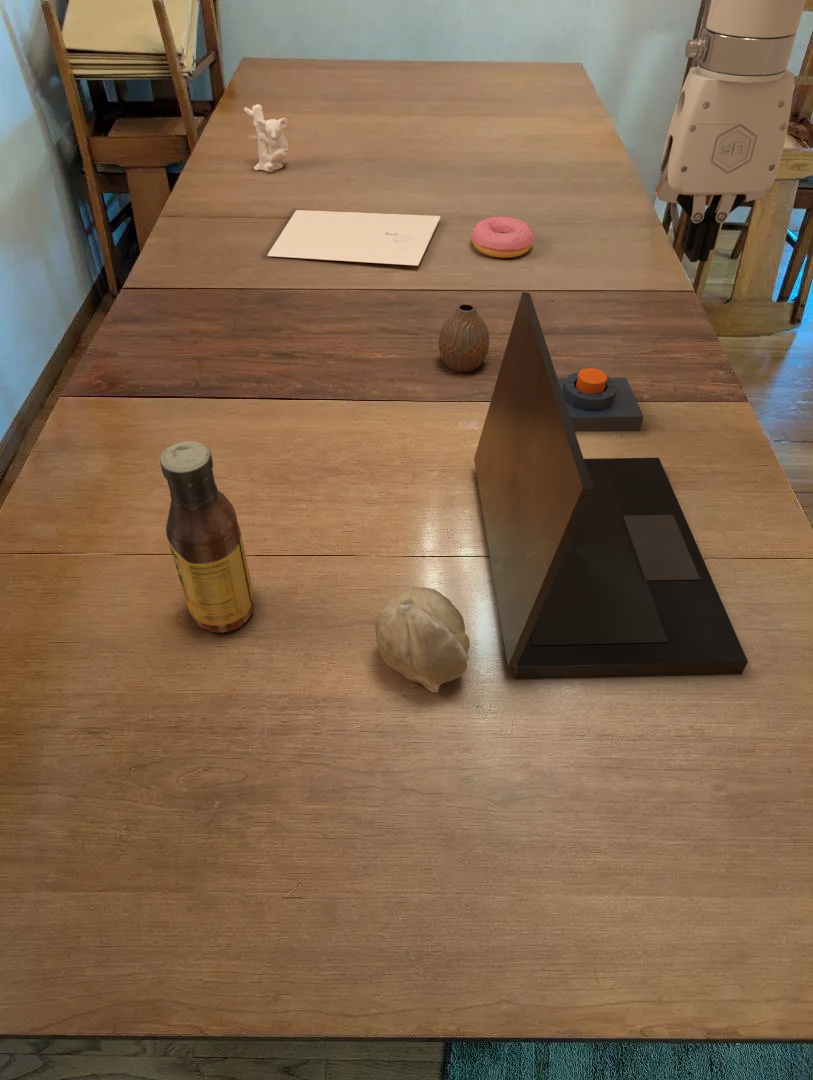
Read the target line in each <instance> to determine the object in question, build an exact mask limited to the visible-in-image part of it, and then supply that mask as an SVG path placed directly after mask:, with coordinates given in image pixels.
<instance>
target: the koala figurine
mask: <svg viewBox="0 0 813 1080" xmlns="http://www.w3.org/2000/svg"><path fill="white" fill-rule="evenodd" d="M243 111H244V113H246V115H248V116H249V117H251V118H252V119H253V121H252V126H253V128H254V129H255V132H256V135H257V146H258V150H257V153H258V154H257V155H258V158H259V161H258V162H257V163H256V165H254V167H253V170H254V171H259V170H260V171H265V172H268V173H273V172H274V171H277V170H280V169H282V168H283V167H284V164H283V163H281V162H278V161H282V160H284V159H285V158H286V157H287V155H288V152H289V141H288V139H287V137H286V133H285V132H284V131H283V130H286V129H287V128H288V119H287V118H286V117H281V118H279V119H275V118H271V119H267V120H265V116H264V111H263V106H262V104H260V103H257V104H254V105H253V106H252V108H251V109H250V108H248V107H247V106H245V107H244V108H243Z"/></svg>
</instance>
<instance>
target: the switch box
mask: <svg viewBox="0 0 813 1080" xmlns="http://www.w3.org/2000/svg"><path fill="white" fill-rule="evenodd" d="M580 371H581V370H579V371H576V372H573V373H571V374H568V375H567V377H557V378H558V381H559V384H560V388H561V391H562V394H563V397H564V400H565V403H566V406H567V409H568V412H569V415H570V418H571V421H572V425H573V428H574V431H575V433H577V432H579V433H580V432H581V433H583V432H585V433H586V432H639V431H641V428H642V425H643V424H642V423H643V421H644V415H643V412H642V410H641V407H640V406H639V403H638V401H637V398H636V396H635V394H634V392H633V390H632V387H631V384H630V383H629V380H628V379H627V377H623V376H621V377H609V375H607V381H606V386H605V390H604V392H602V393H600V394H588V393H584V392H581V391H580V390H578V389H577V388H576V383H577V378H578V373H579V372H580Z"/></svg>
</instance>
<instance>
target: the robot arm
mask: <svg viewBox="0 0 813 1080" xmlns="http://www.w3.org/2000/svg"><path fill="white" fill-rule="evenodd" d="M806 1H807V0H711V1H710V5H709V10H708V15H707V18H706V19H707V20H706V24H705V27H703V28H702V31H701V34H700V36H699V37H696V38H695V39H687V41H686V44H685V47H684V55H685V58H693V59H694V60H695V61H696V63H697V66H692V67H690V69H689V71H688V73H687V75H686V77H685V81H684V82H683V85H682V88H681V91H680V93H679V96H678V98H677V101H676V105H675V108H674V111H673V113H672V118H671V121H670V123H669V127H668V131H667V135H666V139H665V143H664V147H663V150H662V155H661V160H660V168H659V169H660V170H659V172H660V178H659V180H658V182H657V185H656V187H655V189H654V194H655V196H656V197H657V198H658V200H659V201H662V202H666V203H671V204H673V205H674V204H676V205H679V206H680V207H681V209H682V210H683V211H684V212H685V214H686V217H685V218H686V219H685V223H684V228H683V231H682V237H681V241H680V248H681V251H682V252H683V253H684V255H685V257H686V258H687V259H688V260H689V262H690V263H697V262H698V261H700V262H701V263H706V262H708V260H709V257H710V253H711V251H713V250H714V249H715V247H716V242H717V239H718V235H719V231H720V228H721V224H722V223H724V222H726V221H727V219H728V218H729V215H730V214H731V213H732V212H733V211H734V210H736V209H738V207H740V206H741V205H742V204H743V203H748V202H752V201H756V200H759V199H763V198H764V197H766V196H767V192H768V189H770V188H772V187H773V185H774V183H775V180H776V178H777V175H778V172H779V168H780V165H781V161H782V157H783V151H784V147H785V144H786V138H787V133H788V128H789V123H790V117H791V110H792V104H793V97H794V87H795V86H794V85H795V74H794V73H793V72H792V71H789V70H788V69H787V68H788V65H789V61H790V58H791V54H792V51H793V49H794V44H795V40H796V37H797V32H798V29H799V25H800V23H801V19H802V16H803V12H804V8H805V4H806ZM707 196H710V198H709V201H708V203H707V207H706V201H707Z"/></svg>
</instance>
